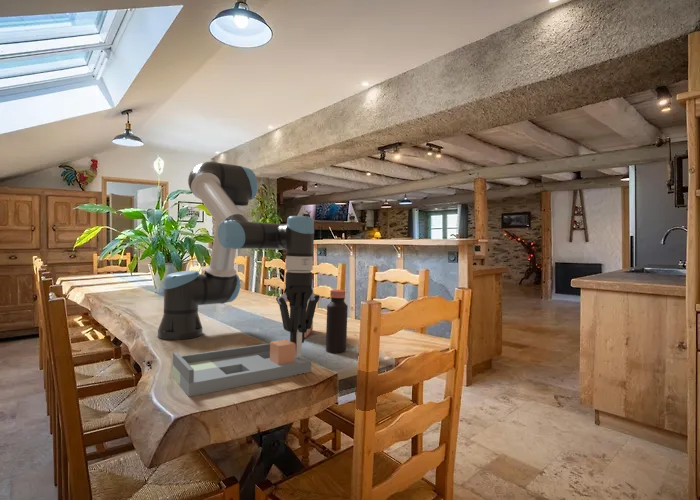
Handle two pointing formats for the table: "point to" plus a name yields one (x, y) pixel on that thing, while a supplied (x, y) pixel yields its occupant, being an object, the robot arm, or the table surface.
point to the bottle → (336, 323)
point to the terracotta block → (282, 351)
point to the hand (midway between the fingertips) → (296, 355)
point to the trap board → (231, 369)
